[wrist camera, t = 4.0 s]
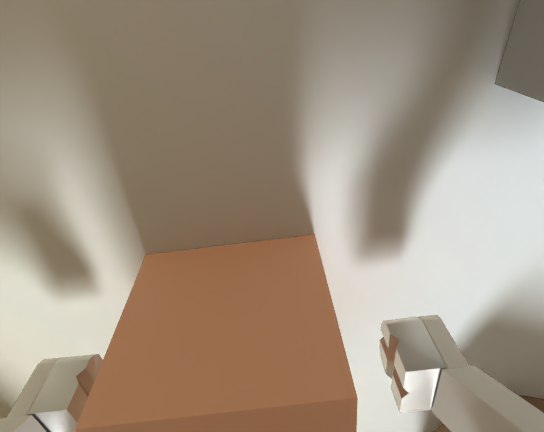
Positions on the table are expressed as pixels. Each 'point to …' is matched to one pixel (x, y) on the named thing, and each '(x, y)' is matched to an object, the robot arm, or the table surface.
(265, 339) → the terracotta cube
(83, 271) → the table surface
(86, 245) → the table surface
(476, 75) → the table surface
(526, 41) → the slate grey cube
